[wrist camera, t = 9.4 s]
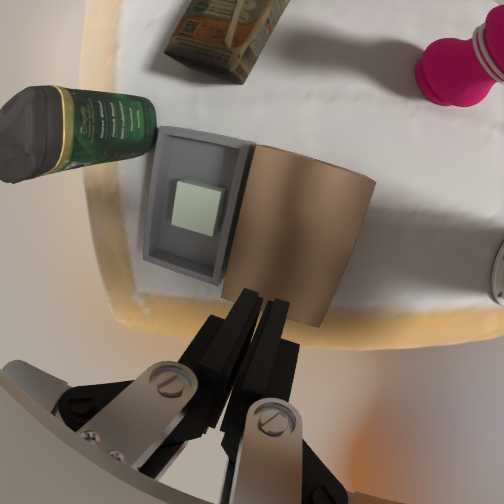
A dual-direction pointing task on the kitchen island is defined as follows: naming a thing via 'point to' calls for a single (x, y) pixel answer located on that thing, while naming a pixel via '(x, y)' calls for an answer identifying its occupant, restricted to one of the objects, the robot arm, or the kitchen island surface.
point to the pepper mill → (464, 64)
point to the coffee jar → (71, 130)
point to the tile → (198, 206)
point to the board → (296, 231)
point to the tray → (201, 170)
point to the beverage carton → (224, 36)
